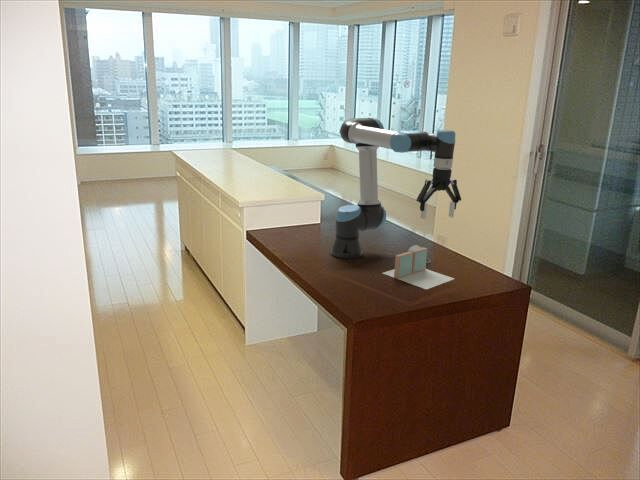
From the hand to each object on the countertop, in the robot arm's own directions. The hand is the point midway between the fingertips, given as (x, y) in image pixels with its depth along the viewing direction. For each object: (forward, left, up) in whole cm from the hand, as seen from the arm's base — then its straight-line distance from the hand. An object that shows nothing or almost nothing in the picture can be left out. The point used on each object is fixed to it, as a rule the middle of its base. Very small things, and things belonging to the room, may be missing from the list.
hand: (437, 217), depth 225 cm
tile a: (-5, -13, -25) cm, 29 cm away
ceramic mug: (-14, +9, -27) cm, 32 cm away
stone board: (-1, -8, -26) cm, 27 cm away
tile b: (-5, -3, -25) cm, 26 cm away
